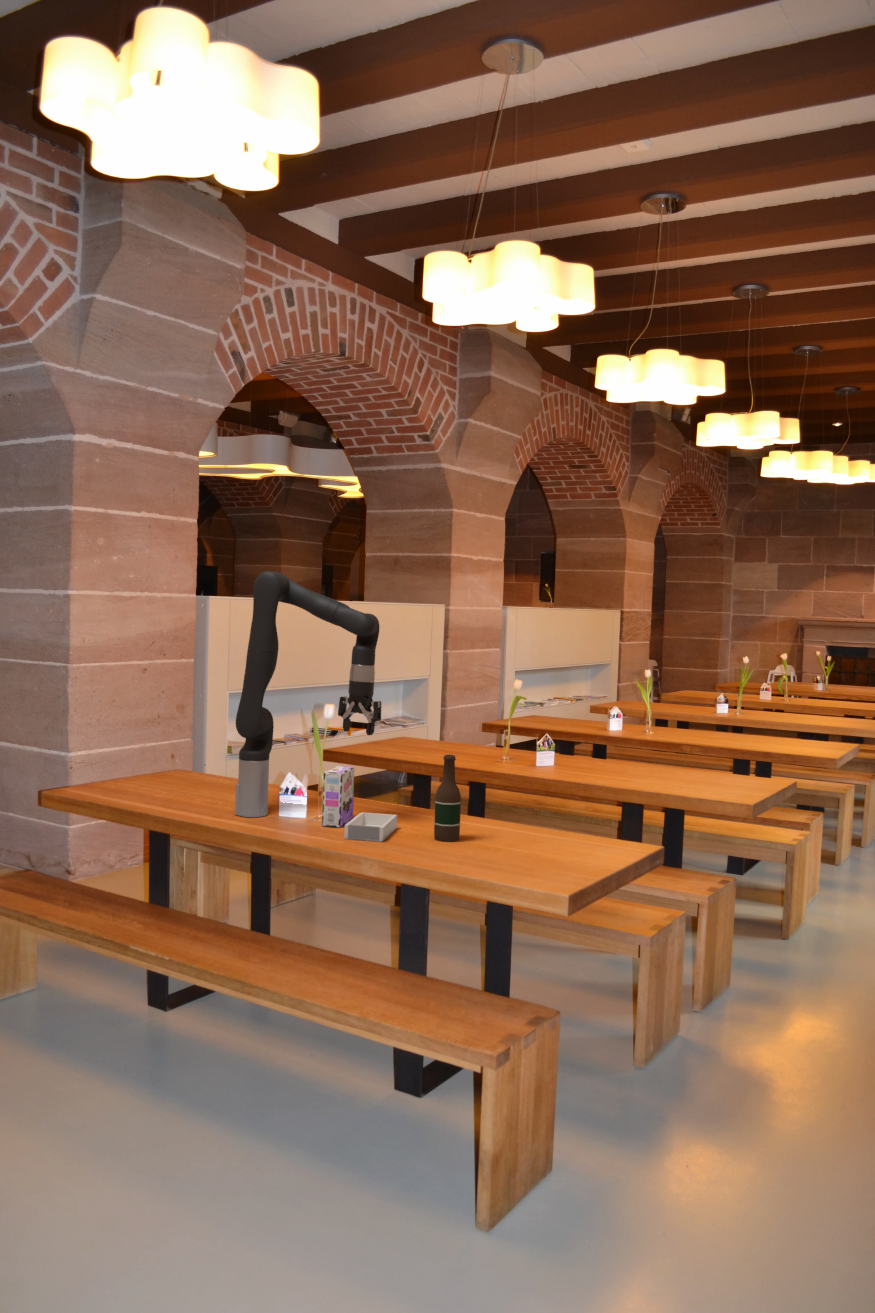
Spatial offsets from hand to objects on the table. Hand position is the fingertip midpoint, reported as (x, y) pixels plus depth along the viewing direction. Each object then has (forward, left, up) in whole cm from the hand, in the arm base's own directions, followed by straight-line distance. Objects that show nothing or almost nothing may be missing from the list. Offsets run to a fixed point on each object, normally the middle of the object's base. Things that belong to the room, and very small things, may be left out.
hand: (358, 733), depth 299 cm
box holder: (+8, -13, -27) cm, 31 cm away
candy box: (-5, -2, -28) cm, 28 cm away
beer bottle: (+30, -13, -28) cm, 43 cm away
